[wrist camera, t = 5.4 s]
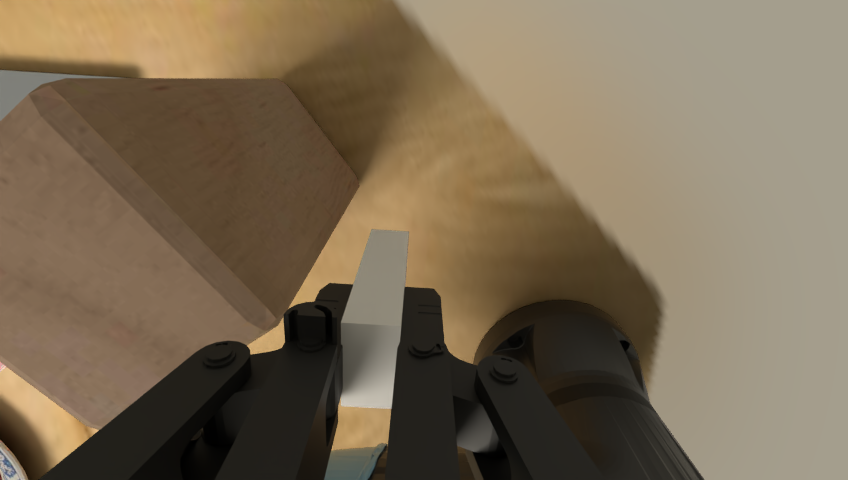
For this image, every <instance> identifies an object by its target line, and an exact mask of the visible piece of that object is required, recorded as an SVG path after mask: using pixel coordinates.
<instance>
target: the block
mask: <svg viewBox="0 0 848 480" xmlns="http://www.w3.org/2000/svg"><path fill="white" fill-rule="evenodd" d="M358 188H359V182H358V179H357V176H356V175H355V174H354V172H353V171H352V170H351V168H350V167H349V166H348V164H347V163H346V162H345V160H344V159H343V158H342V156H341V155H340V154H339V153H338V151H337V150H336V149H335V147H334V146H333V145H332V143H331V142H330V141H329V139H328V138H327V137H326V135H325V134H324V133H323V132H322V130H321V129H320V128H319V126H318V125H317V124H316V122H315V121H314V120H313V118H312V117H311V116H310V114H309V113H308V112H307V110H306V109H305V108H304V107H303V105H302V104H301V103H300V101H299V100H298V99H297V97H296V96H295V95H294V93H293V92H292V91H291V89H290V88H289V87H288V86H287V85H286V84H285V83H283V82H282V81H280V80H278V79H162V78H65V79H61V80H57V81H53V82H49V83H45V84H41V85H40V86H39V87H37V88H36V89H34V90H33V91H32V92H30V93H29V94H28V95H27V96H26V97H25V98H24V99H23V100H22V101H20V102H19V103H18V104H17V105H16V106H15V107H14V108H13V109H12V110H11V111H10V112H9V113H8V114H7V115H6V116H5V117H4V118H3V119H2V120H1V121H0V362H1V363H2V364H4V365H5V366H6V367H8V368H9V369H10V370H12V371H13V372H14V373H16V374H17V375H18V376H20V377H21V378H22V379H24V380H25V381H26V382H28V383H29V384H30V385H32V386H33V387H34V388H36V389H37V390H39V391H40V392H41V393H43V394H44V395H45V396H47V397H48V398H49V399H51V400H52V401H53V402H55V403H56V404H57V405H59V406H60V407H61V408H63V409H64V410H65V411H67V412H68V413H69V414H71V415H72V416H73V417H75V418H76V419H77V420H79V421H80V422H82V423H83V424H84V425H86V426H88V427H91V428H95V429H98V430H100V429H102V428H103V427H104V426H105V425H106V424H108V423H109V422H110V421H111V420H113V419H114V418H115V417H116V416H118V415H119V414H120V413H121V412H122V411H124V410H125V409H126V408H127V407H129V406H130V405H131V404H132V403H134V402H135V401H136V400H137V399H138V398H140V397H141V396H142V395H143V394H145V393H146V392H147V391H148V390H150V389H151V388H152V387H153V386H155V385H156V384H157V383H158V382H159V381H161V380H162V379H163V378H164V377H166V376H167V375H168V374H169V373H171V372H172V371H173V370H174V369H175V368H177V367H178V366H179V365H180V364H182V363H183V362H184V361H185V360H187V359H188V358H189V357H190V356H191V355H193V354H194V353H195V352H197V351H198V350H200V349H201V348H203V347H205V346H207V345H210V344H213V343H216V342H221V341H238V342H241V343H243V344H246V345H248V344H250V343H251V342H253V341H254V340H256V339H258V338H259V337H261V336H262V335H264V334H265V333H267V332H268V331H270V330H272V329H273V328H275V327H276V326H278V324H279V323H280V321H281V319H282V318H283V314H284V313H285V312H286V311H287V309H288V308H289V306H290V304H291V303H292V301H293V299H294V297H295V296H296V294H297V292H298V291H299V289H300V287H301V285H302V284H303V282H304V280H305V279H306V277H307V275H308V273H309V272H310V270H311V268H312V267H313V265H314V263H315V261H316V260H317V258H318V256H319V255H320V253H321V251H322V249H323V248H324V246H325V244H326V243H327V241H328V239H329V238H330V236H331V234H332V232H333V231H334V229H335V227H336V226H337V224H338V222H339V220H340V219H341V217H342V215H343V214H344V212H345V210H346V208H347V207H348V205H349V203H350V202H351V200H352V198H353V196H354V195H355V193H356V191H357V190H358Z"/></svg>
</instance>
